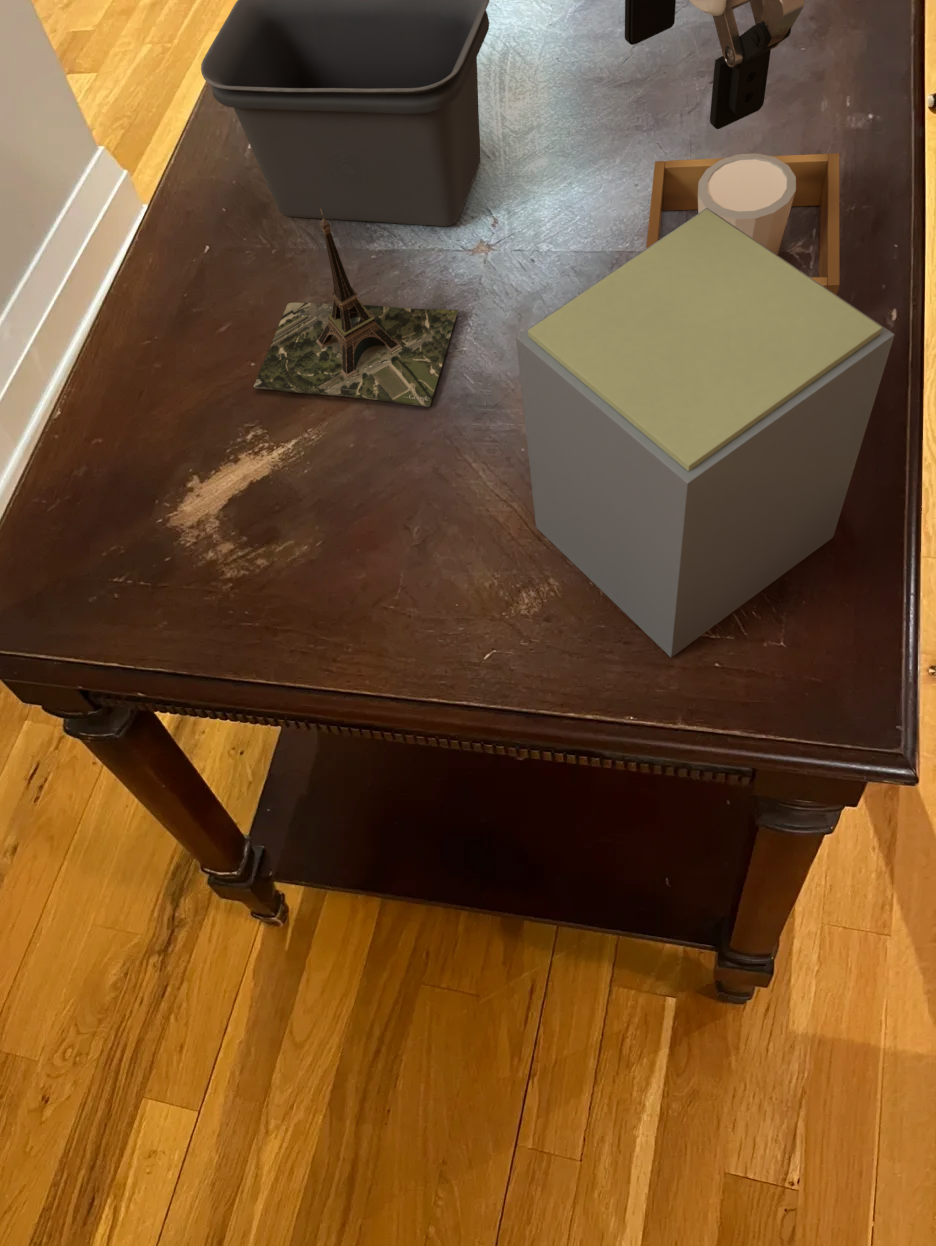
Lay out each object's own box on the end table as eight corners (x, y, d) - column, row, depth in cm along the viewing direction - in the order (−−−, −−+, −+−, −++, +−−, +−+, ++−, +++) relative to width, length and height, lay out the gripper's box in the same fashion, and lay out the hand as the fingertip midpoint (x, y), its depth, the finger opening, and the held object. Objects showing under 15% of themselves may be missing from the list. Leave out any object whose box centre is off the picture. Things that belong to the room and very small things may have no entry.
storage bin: (241, 237, 96) (185, 83, 83) (300, 119, 102) (255, -42, 89) (473, 255, 90) (450, 92, 77) (521, 129, 96) (507, -43, 83)
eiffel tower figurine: (251, 395, 87) (194, 260, 76) (288, 302, 91) (240, 160, 80) (430, 410, 83) (400, 270, 72) (461, 312, 87) (437, 164, 76)
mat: (880, 334, 57) (882, 327, 56) (688, 472, 55) (689, 465, 55) (706, 215, 63) (707, 208, 62) (528, 336, 61) (527, 330, 60)
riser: (833, 537, 72) (895, 334, 57) (671, 658, 71) (687, 483, 55) (688, 419, 79) (706, 207, 63) (535, 527, 77) (515, 336, 61)
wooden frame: (830, 198, 86) (839, 152, 82) (829, 327, 80) (839, 284, 77) (653, 204, 89) (654, 160, 85) (640, 329, 83) (642, 288, 80)
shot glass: (674, 256, 86) (678, 178, 80) (750, 218, 86) (761, 138, 80) (722, 308, 83) (731, 231, 77) (801, 269, 83) (816, 190, 77)
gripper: (903, -244, 46) (831, 125, 62) (688, -373, 54) (671, -19, 70) (747, -172, 46) (713, 180, 61) (554, -313, 54) (566, 29, 69)
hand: (691, 74), depth 65 cm, fingers open, 9 cm apart
